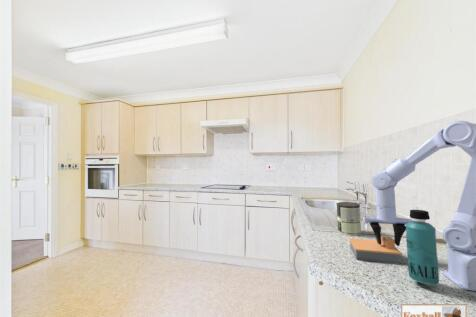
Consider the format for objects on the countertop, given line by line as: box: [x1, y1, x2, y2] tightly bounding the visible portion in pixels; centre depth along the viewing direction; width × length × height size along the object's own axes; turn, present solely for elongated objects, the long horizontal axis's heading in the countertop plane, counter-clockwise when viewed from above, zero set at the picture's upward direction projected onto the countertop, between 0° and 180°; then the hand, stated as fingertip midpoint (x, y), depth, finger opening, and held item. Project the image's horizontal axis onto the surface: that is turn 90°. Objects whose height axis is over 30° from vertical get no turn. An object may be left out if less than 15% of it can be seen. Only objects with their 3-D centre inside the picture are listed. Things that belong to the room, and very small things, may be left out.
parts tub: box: [349, 241, 402, 265], centre depth 75 cm, size 11×13×3 cm
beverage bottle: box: [405, 209, 441, 286], centre depth 56 cm, size 6×7×20 cm
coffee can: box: [336, 201, 362, 237], centre depth 102 cm, size 10×10×14 cm
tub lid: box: [348, 234, 403, 256], centre depth 75 cm, size 12×14×4 cm
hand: (388, 244), depth 74 cm, fingers open, 5 cm apart
